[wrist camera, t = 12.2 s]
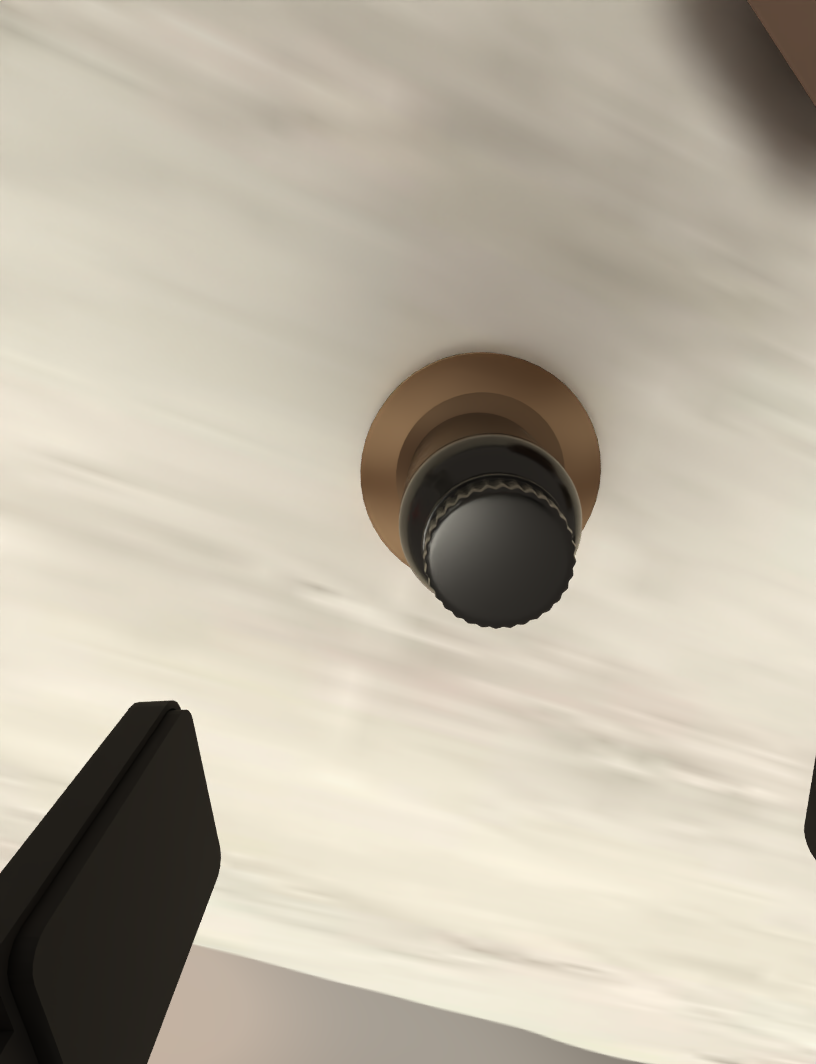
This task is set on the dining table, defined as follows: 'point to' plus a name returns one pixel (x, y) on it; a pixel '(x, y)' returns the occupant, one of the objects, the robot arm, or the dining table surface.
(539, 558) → the supplement bottle
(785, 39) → the brown faceted vessel
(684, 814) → the dining table surface
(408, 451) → the stand
